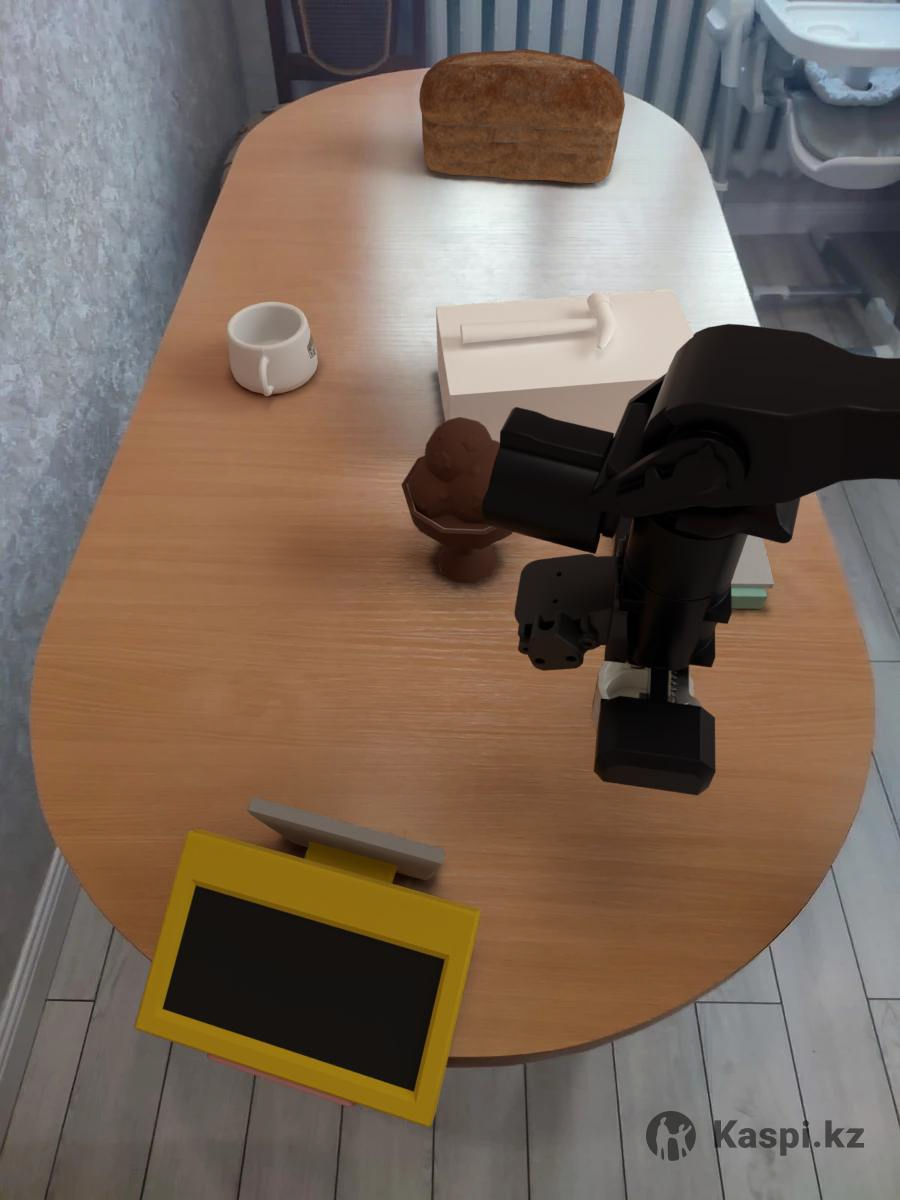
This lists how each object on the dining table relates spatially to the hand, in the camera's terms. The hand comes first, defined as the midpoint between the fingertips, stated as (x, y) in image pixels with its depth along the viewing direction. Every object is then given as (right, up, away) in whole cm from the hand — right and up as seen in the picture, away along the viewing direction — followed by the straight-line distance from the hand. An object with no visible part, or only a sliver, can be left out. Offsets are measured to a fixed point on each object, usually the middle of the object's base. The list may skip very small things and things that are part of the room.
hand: (638, 712), depth 60 cm
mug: (-32, +32, +40) cm, 61 cm away
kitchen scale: (+10, +11, +22) cm, 27 cm away
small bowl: (0, -1, +1) cm, 1 cm away
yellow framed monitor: (-19, -9, +2) cm, 21 cm away
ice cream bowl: (-11, +11, +23) cm, 28 cm away
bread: (-3, +70, +69) cm, 98 cm away
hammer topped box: (-1, +28, +36) cm, 46 cm away
